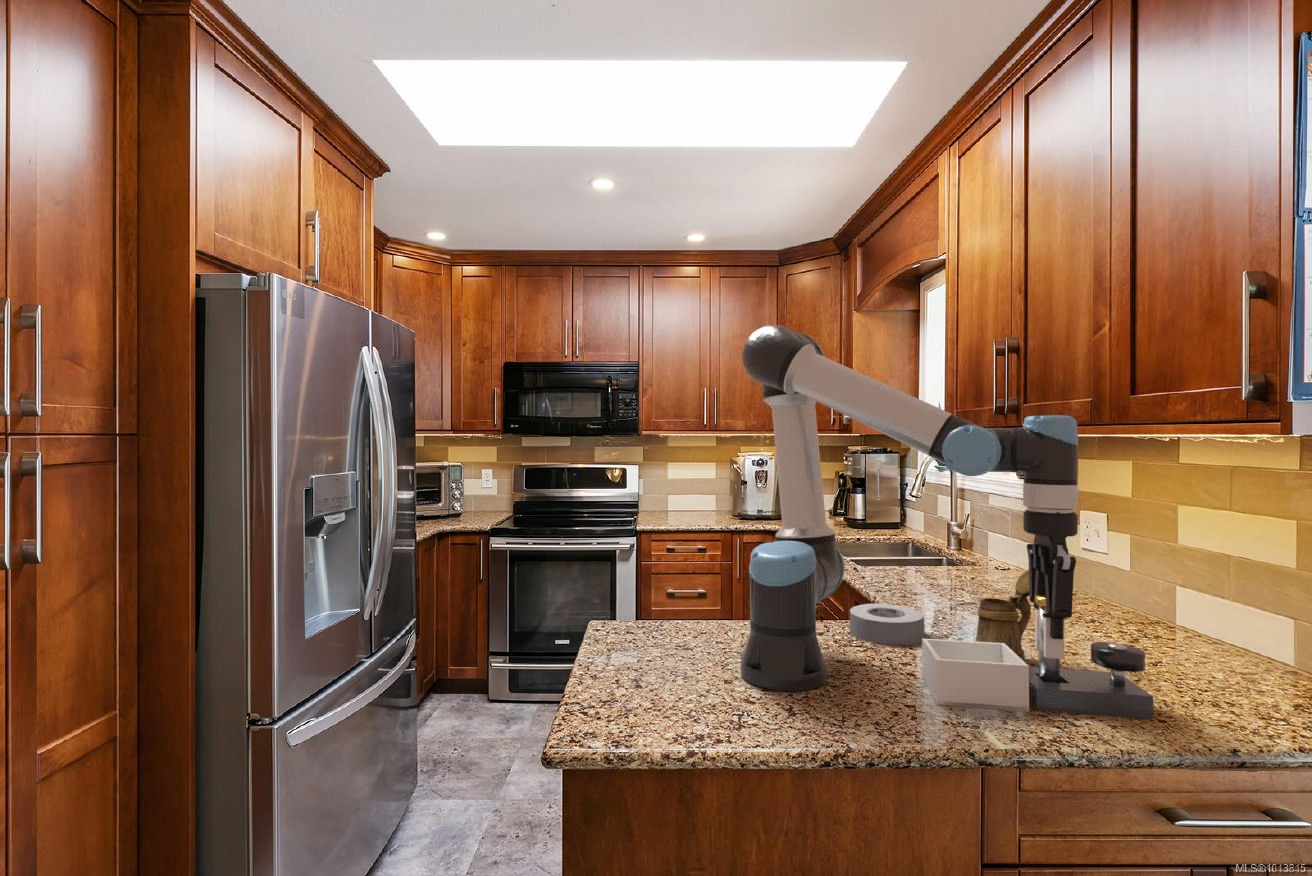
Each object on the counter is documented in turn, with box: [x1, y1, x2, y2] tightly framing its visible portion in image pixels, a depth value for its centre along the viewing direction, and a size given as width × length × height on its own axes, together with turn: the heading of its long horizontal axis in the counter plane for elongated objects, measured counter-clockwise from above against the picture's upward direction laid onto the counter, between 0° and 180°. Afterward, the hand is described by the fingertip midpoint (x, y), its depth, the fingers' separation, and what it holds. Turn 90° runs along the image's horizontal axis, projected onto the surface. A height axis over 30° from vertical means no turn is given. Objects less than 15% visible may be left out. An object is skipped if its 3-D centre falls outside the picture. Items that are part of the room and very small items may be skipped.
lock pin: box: [1035, 595, 1061, 683], centre depth 102 cm, size 4×4×14 cm
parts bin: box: [921, 638, 1030, 712], centre depth 105 cm, size 13×11×7 cm
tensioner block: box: [1029, 641, 1154, 720], centre depth 101 cm, size 17×10×10 cm, turn 78°
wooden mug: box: [975, 569, 1032, 664], centre depth 122 cm, size 9×14×18 cm, turn 93°
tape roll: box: [849, 603, 925, 646], centre depth 138 cm, size 15×15×5 cm
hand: (1049, 653), depth 102 cm, fingers closed on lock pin, 3 cm apart
